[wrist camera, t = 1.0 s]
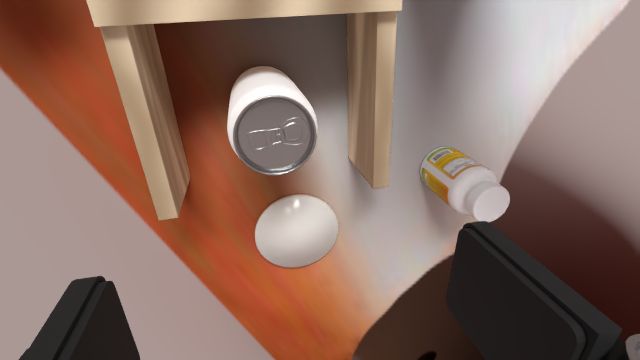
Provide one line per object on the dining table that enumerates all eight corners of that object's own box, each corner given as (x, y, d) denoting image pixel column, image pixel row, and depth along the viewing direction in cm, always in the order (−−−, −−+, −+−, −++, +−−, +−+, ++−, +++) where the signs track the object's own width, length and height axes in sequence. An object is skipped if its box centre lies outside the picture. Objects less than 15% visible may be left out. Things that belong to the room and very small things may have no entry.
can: (302, 123, 35) (329, 168, 24) (241, 137, 34) (241, 191, 24) (289, 58, 32) (313, 78, 22) (221, 73, 31) (212, 101, 21)
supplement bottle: (446, 190, 43) (498, 233, 34) (411, 180, 41) (456, 223, 32) (467, 152, 41) (527, 187, 32) (431, 139, 39) (485, 174, 31)
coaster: (336, 188, 39) (337, 190, 39) (338, 256, 44) (339, 259, 43) (249, 201, 38) (249, 203, 37) (260, 270, 42) (260, 273, 41)
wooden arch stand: (362, -7, 31) (403, -14, 23) (361, 155, 38) (392, 190, 30) (129, 4, 28) (85, -2, 20) (175, 179, 35) (156, 225, 27)
